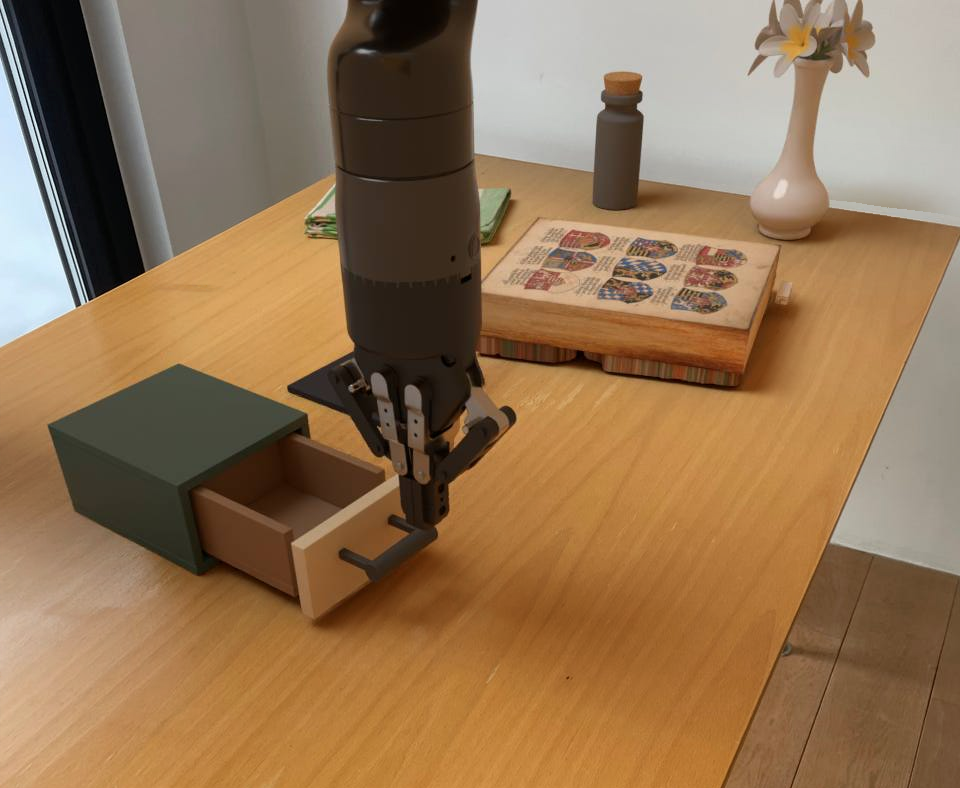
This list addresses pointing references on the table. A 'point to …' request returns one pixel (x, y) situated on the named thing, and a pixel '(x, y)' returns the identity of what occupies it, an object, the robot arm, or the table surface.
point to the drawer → (306, 521)
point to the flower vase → (804, 106)
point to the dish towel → (491, 213)
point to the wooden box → (630, 300)
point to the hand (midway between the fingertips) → (426, 522)
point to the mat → (323, 387)
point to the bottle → (618, 142)
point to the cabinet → (163, 454)
